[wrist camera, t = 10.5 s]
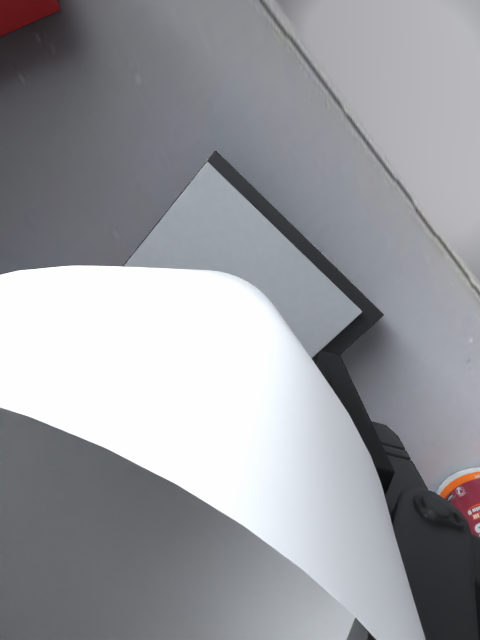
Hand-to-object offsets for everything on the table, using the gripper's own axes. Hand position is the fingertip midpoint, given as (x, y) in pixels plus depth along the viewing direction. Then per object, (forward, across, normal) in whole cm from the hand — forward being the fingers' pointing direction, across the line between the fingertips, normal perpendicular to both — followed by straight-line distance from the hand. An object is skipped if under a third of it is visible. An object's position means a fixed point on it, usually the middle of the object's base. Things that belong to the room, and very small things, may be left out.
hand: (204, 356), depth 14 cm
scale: (+10, 0, 0) cm, 10 cm away
